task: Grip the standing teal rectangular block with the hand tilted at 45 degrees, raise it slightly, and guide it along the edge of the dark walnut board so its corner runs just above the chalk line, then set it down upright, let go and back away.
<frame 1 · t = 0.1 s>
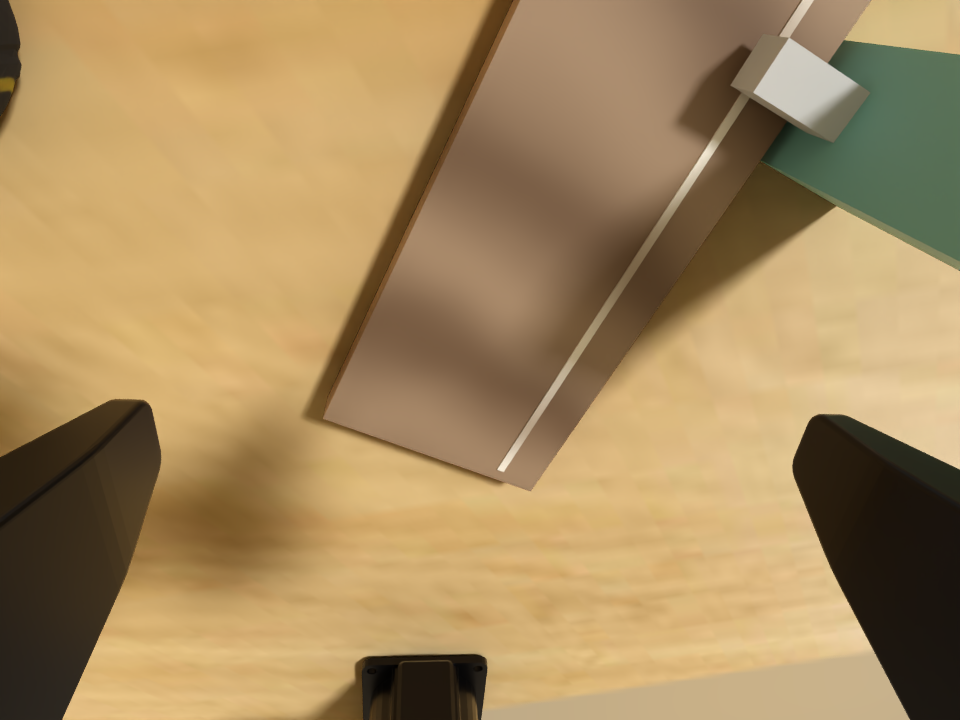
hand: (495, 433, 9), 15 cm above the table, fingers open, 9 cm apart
board: (552, 222, 23), on the table
teal rectangular block: (834, 127, 22), on the table
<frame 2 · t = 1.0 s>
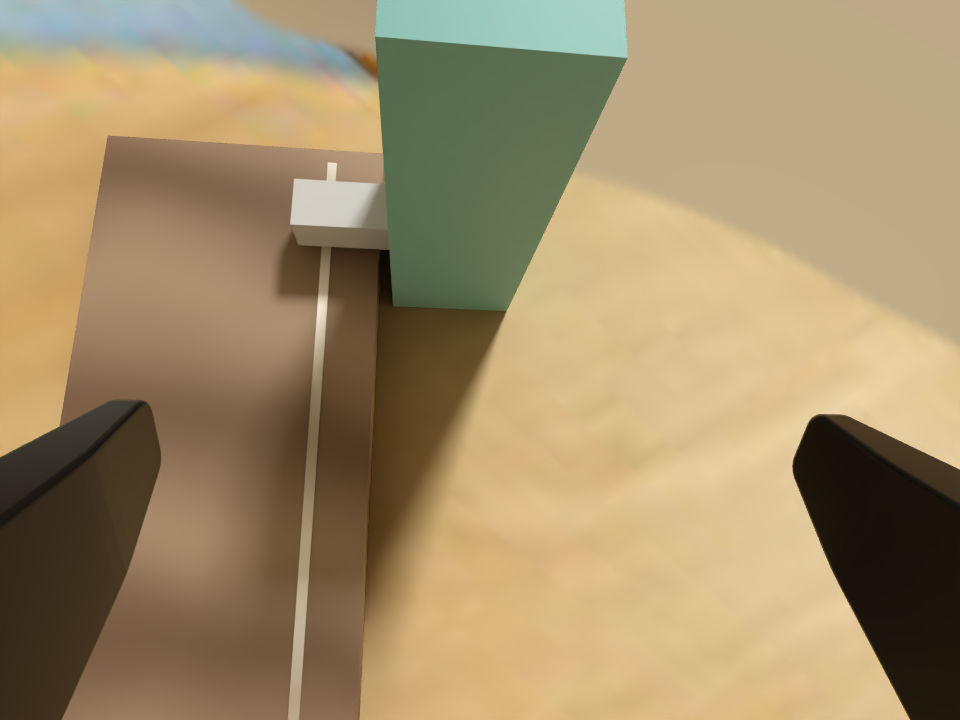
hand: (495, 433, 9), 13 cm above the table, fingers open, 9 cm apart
board: (230, 447, 21), on the table
teal rectangular block: (451, 255, 23), on the table
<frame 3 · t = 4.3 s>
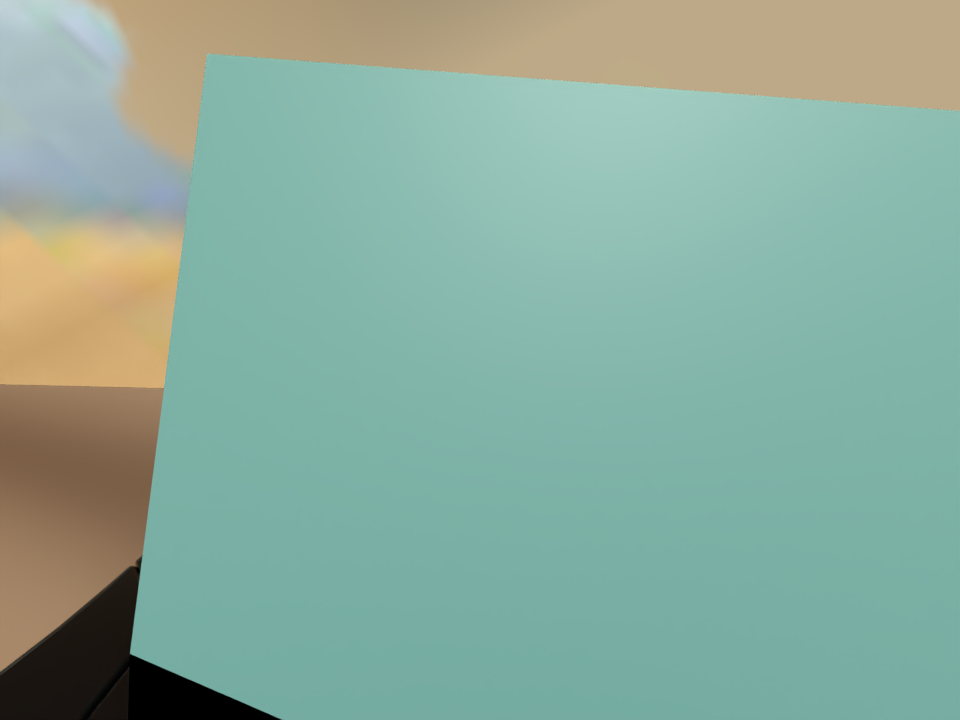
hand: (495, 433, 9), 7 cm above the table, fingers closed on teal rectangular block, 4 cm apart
teal rectangular block: (457, 535, 15), on the table, touching gripper
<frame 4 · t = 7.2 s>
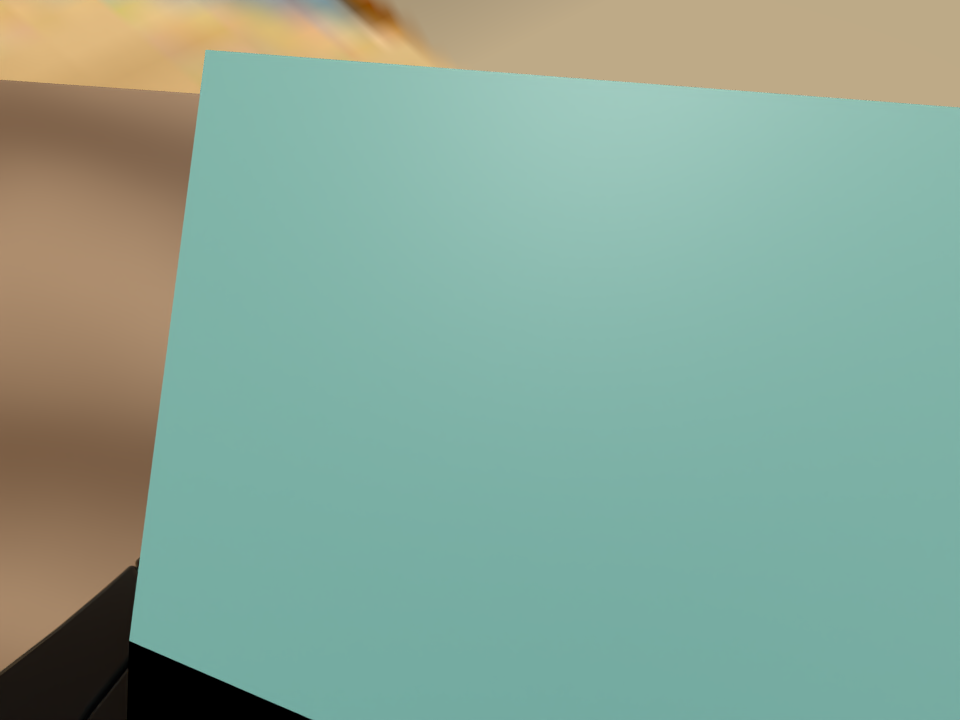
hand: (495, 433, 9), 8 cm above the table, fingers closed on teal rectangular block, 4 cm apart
board: (162, 498, 15), on the table
teal rectangular block: (457, 535, 15), point 1 cm above the table, touching gripper
when the fingers open (7 cm above the table, at t = 10.0 s): teal rectangular block stays where it is, on the table.
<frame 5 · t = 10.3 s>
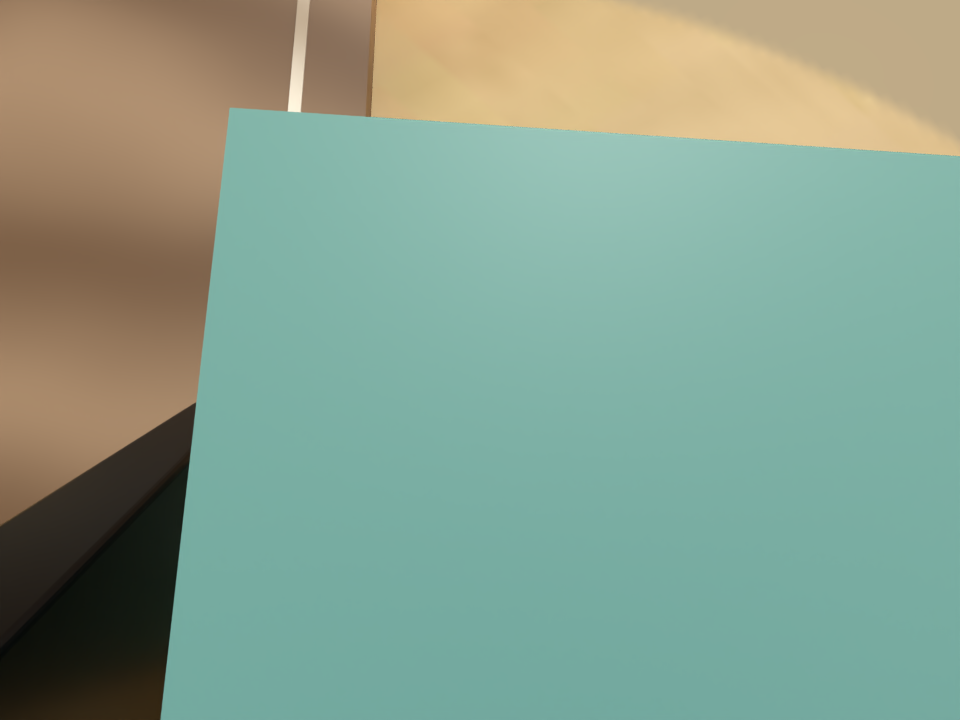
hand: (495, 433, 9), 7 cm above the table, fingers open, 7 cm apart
board: (171, 319, 16), on the table
teal rectangular block: (457, 537, 15), on the table
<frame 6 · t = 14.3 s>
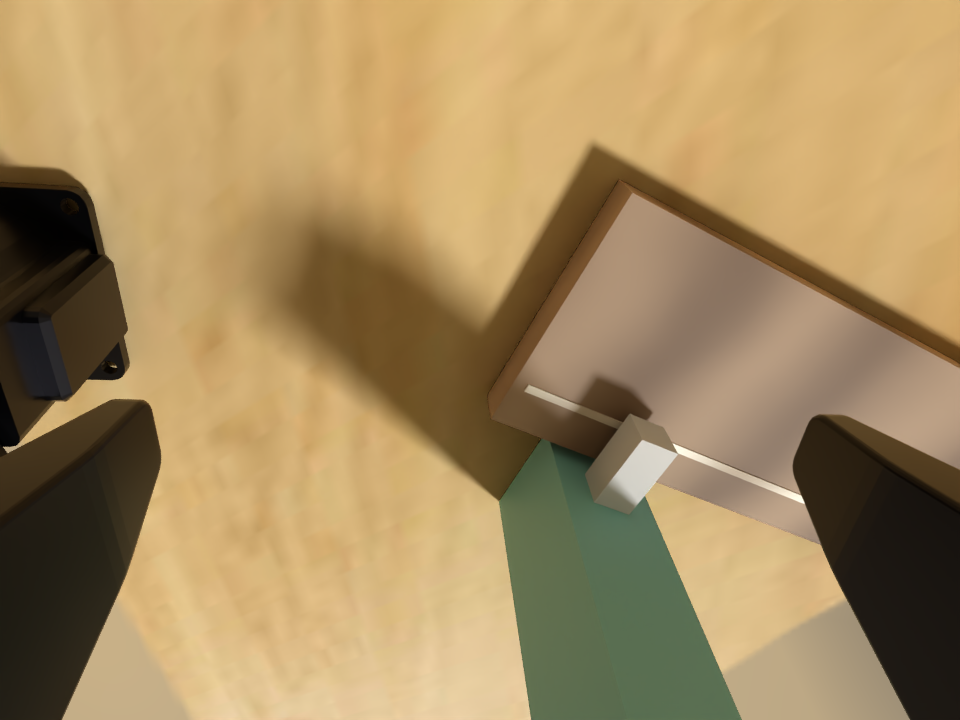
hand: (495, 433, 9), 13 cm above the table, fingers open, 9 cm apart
board: (766, 396, 25), on the table
teal rectangular block: (564, 482, 27), on the table
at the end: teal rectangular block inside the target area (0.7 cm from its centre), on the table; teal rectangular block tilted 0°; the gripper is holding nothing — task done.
